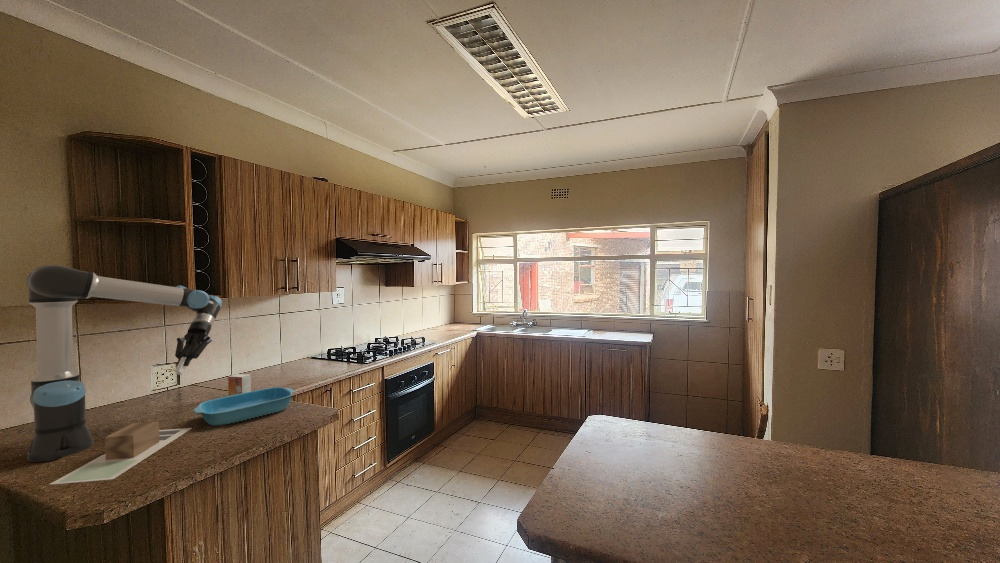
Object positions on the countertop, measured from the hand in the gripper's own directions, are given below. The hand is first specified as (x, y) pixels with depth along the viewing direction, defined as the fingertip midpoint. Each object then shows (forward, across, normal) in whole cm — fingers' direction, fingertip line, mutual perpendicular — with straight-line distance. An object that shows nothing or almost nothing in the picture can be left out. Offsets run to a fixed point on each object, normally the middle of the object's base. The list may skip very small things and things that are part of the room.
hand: (178, 372), depth 154 cm
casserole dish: (+9, -21, -22) cm, 32 cm away
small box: (-10, -5, -41) cm, 43 cm away
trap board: (+32, +1, +2) cm, 33 cm away
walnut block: (+31, +1, +2) cm, 31 cm away
